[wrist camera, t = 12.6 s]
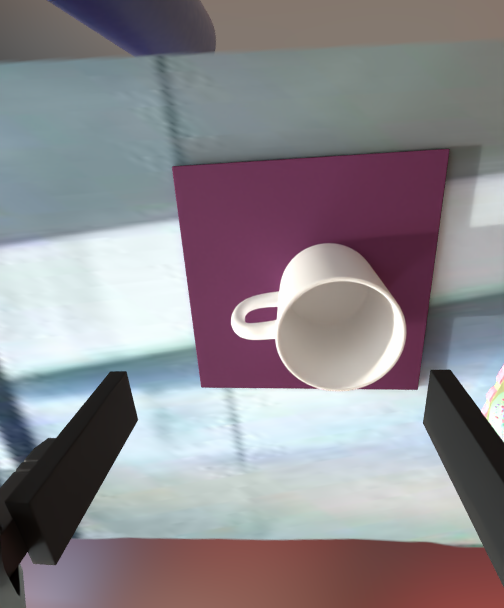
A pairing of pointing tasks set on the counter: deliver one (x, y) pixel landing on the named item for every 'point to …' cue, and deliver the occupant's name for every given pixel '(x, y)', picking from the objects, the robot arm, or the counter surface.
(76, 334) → the counter surface
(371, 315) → the cup
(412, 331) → the mat
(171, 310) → the counter surface
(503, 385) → the food platter
